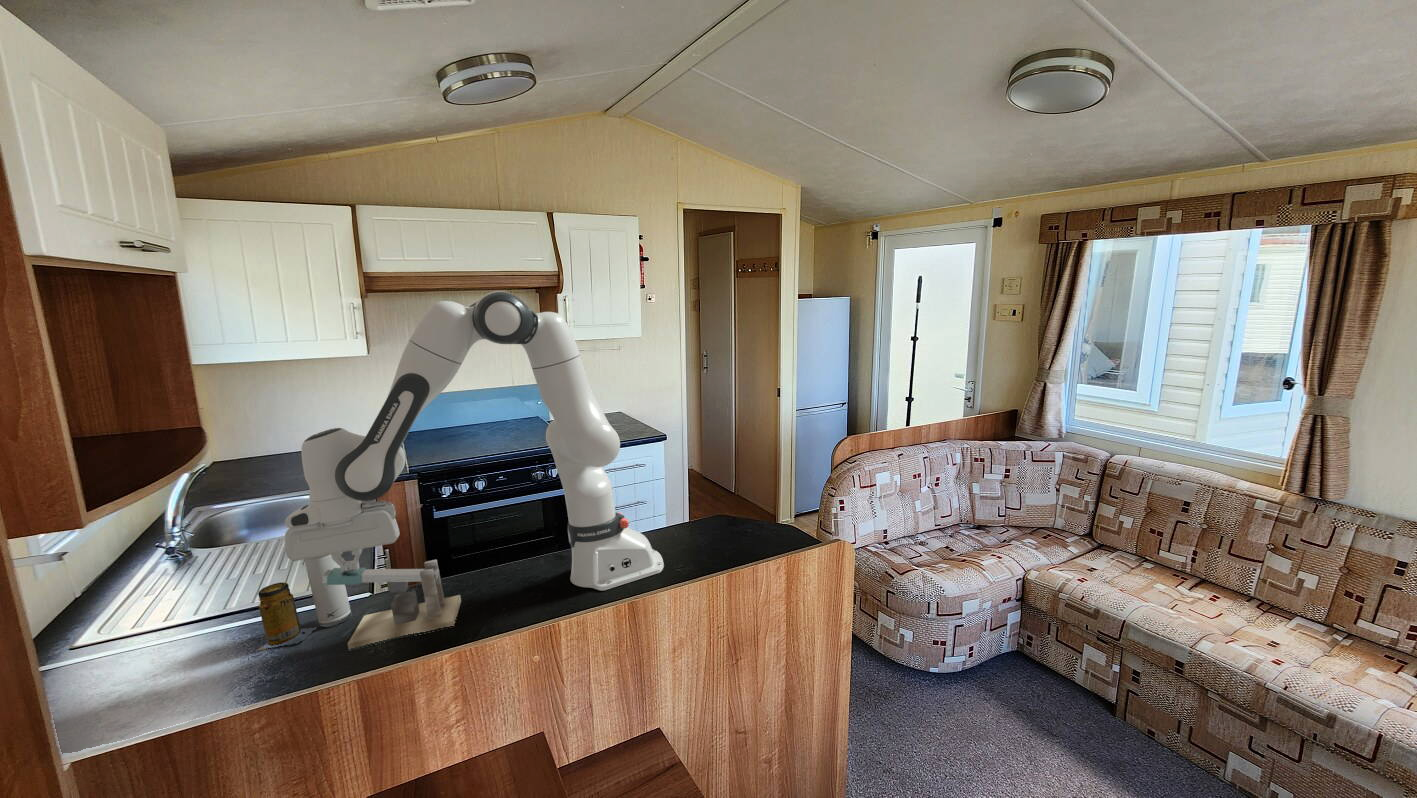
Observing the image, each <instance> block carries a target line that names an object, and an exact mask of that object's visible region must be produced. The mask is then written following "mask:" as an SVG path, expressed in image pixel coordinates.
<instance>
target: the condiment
mask: <svg viewBox="0 0 1417 798" xmlns="http://www.w3.org/2000/svg"><path fill="white" fill-rule="evenodd" d="M257 594H258V598H259V599H258V600H259V604H258V609H259V613H260V618H261V622H262V626H263V631H264V633H265V638H266V642H268V645H271V646H273V645H279V644H282V643H284V642H287V641H289V640H291V639H293V638H295V637H296V636H297V635H298V634H299V633H300V631H301V629H302V627H301V624H300V621H299V620H300V618H299V616H298V612H297V606H296V603H295V599H294V595H293V594H292V593H291V590H290V588H289V583H287V582H285V581H284V582H283V581H282V582H276V583H272V584H270V585H267V586H265V587H262V588H261V589H260V590H259V591H258V593H257ZM261 650H263V651H264V650H268V648H267V649H266V648H264V646H263V645H261V647H259V648H258V649H257V651H261Z"/></svg>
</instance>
